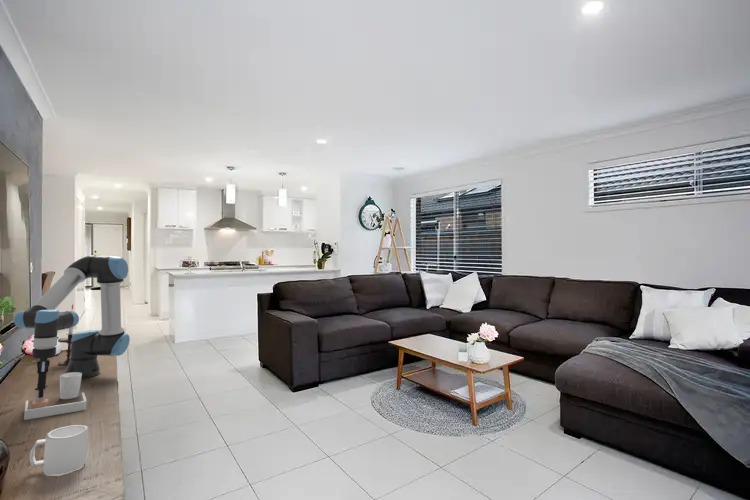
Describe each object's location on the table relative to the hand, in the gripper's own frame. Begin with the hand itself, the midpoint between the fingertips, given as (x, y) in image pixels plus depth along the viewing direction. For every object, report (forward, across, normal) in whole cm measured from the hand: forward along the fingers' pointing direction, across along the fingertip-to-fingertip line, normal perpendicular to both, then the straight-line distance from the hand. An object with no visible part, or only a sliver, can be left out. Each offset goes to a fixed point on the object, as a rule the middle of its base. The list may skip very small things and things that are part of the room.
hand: (39, 404), depth 161 cm
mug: (+2, +62, +5) cm, 62 cm away
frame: (+2, +5, +5) cm, 7 cm away
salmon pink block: (+2, +3, 0) cm, 4 cm away
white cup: (+2, -10, +10) cm, 15 cm away
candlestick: (+2, -77, +12) cm, 78 cm away
